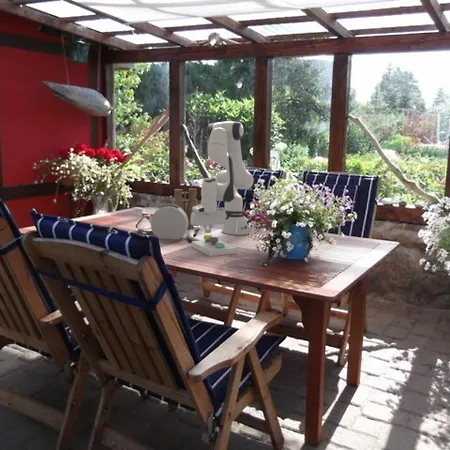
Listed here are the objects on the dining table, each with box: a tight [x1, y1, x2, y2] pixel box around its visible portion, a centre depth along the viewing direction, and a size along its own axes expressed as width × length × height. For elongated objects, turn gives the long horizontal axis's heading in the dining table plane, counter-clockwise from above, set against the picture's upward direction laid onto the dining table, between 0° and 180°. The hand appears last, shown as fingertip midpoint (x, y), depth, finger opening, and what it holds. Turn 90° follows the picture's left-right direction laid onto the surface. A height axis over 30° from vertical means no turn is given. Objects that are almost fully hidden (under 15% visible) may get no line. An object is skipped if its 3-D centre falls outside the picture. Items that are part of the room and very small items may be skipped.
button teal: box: [215, 242, 226, 248], centre depth 279 cm, size 5×5×5 cm
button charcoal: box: [209, 236, 219, 245], centre depth 285 cm, size 5×5×5 cm
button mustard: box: [203, 233, 213, 242], centre depth 291 cm, size 5×5×5 cm
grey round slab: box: [150, 203, 189, 240], centre depth 310 cm, size 21×8×20 cm, turn 84°
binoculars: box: [172, 187, 199, 229], centre depth 341 cm, size 21×10×25 cm, turn 125°
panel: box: [191, 239, 238, 257], centre depth 285 cm, size 16×22×3 cm
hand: (207, 232), depth 290 cm, fingers closed
